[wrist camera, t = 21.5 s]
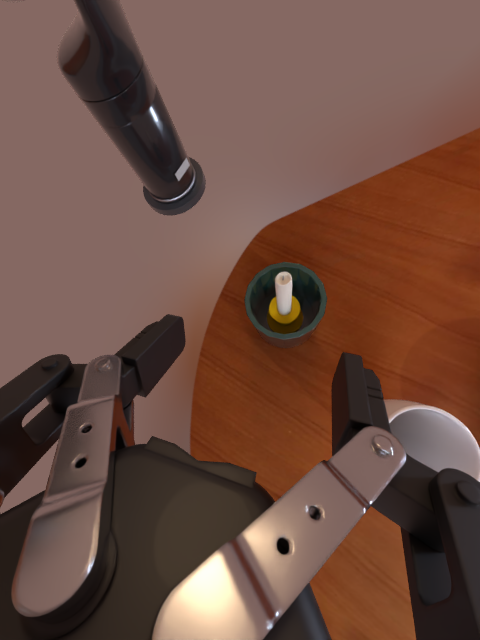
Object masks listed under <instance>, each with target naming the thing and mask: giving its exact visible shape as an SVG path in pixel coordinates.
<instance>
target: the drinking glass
mask: <svg viewBox="0 0 480 640" xmlns="http://www.w3.org/2000/svg"><path fill="white" fill-rule="evenodd" d="M383 400H384V402H385V407H386V411H387V415H388V420H389V424H390V428H391V432H392V435H394V436H395V437H396V438H397V439H398V440H399V442H400V443H401V444H402V446H403V448H404V450H405V452H406V453H407V454H408V455H409V456H411V457H412V458H414V459H415V460H417V461H419V462H421V463H422V464H424V465H426V466H428V467H430V468H431V469H433V470H435V471H437V472H440V471H441V470H442V469H445V468H454V469H457V470H460V471H463V472H465V473H467V474H469V475H470V476H472V477H473V478H475V479H476V480H477V481H479V482H480V448H479V446H478V443H477V441H476V440H475V438H474V436H473V435H472V433H471V432H470V431H469V429H468V428H467V427H466V426H465V425H464V424H463V423H462V422H461V421H460V420H458V419H457V418H456V417H454V416H453V415H451V414H450V413H448V412H446V411H444V410H442V409H439V408H436V407H433V406H429V405H426V404H422V403H418V402H413V401H408V400H400V399H383Z"/></svg>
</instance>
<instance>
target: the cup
mask: <svg viewBox="0 0 480 640" xmlns="http://www.w3.org/2000/svg"><path fill="white" fill-rule="evenodd" d="M281 272H288V273H290V274H291V276H292V296H294V297H295V298H296V299H297V300H298V302H299V304H300V309H301V311H302V313H303V322H302V325H301V327H300V328H299V330H298V331H296V332H294V333H289V334H281V333H276V332H274V331H272V330H271V328H270V327H269V325H268V322H267V313H268V311H269V305H270V303H271V301H272V299H273V298H275V297H276V289H275V278H276V276H277V275H278V274H279V273H281ZM326 302H327V296H326V292H325V288H324V284H323V283H322V282H321V280H320V279H319V278H318V277H317V275H316V274H315V273H314V272H313V271H312V270H310V269H308V268H306V267H305V266H303V265H301V264H296V263H288V262H282V263H277V264H273V265H270V266H268V267H266V268H265V269H263V270H262V271H260V272H258V273H257V274H256V275H255V277H254V278H253V279H252V281H251V282H250V284H249V285H248V288H247V292H246V296H245V306H246V312H247V316H248V317H249V319H250V320H251V322H252V323H253V325H254V327H255V328H256V330H257V331H258V333H259V334H260V336H261V338H262V339H264V340H265V341H266V342H268V343H269V344H271V345H273V346H276V347H280V348H291V347H295V346H298V345H300V344H302V343H304V342H305V341H306V340H308V339H309V338H310V336H311V335H312V333H313V332H314V330H315V329H316V327H317V326H318V324H319V322H320V321H321V319H322V317H323V316H324V313H325V308H326Z"/></svg>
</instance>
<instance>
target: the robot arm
mask: <svg viewBox="0 0 480 640" xmlns="http://www.w3.org/2000/svg"><path fill="white" fill-rule="evenodd" d="M3 1H7V2H20V1H24V0H3ZM74 2H75V4H76V7H77V9H78V11H77V14H76V17H75V19H74V21H73V22H72V24H71V25H70V27H69V28H68V29H67V31H66V33H65V34H64V36H63V37H62V40H61V42H60V44H59V48H58V52H57V63H58V66H59V69H60V71H61V73H62V75H63V76H64V78H65V79H66V80H67V82H68V84H69V85H70V86H71V88H72V89H73V90H74V92H75V93H76V94H77V95H78V97H79V98H80V100H81V101H82V102H83V104H84V105H85V106H86V108H87V109H88V110H89V112H90V113H91V114H92V116H93V117H94V118H95V120H96V121H97V122H98V123H99V125H100V126H101V128H102V129H103V130H104V132H105V133H106V134H107V136H108V137H109V138H110V140H111V141H112V142H113V144H114V145H115V146H116V148H117V149H118V151H119V152H120V153H121V155H122V156H123V157H124V159H125V160H126V161H127V163H128V164H129V165H130V167H131V168H132V170H133V171H134V172H135V174H136V175H137V176H138V178H139V179H140V180H141V182H142V183H143V185H144V186H145V187H146V189H147V190H148V192H149V193H150V195H151V196H152V198H153V199H154V200H156V201H157V202H159V203H163V204H172V203H176V202H178V201H180V200H182V199H184V198H185V197H186V196H187V195H188V194H189V193H190V192H191V191H192V189H193V188H194V186H195V183H196V172H195V170H194V168H193V165H192V164H191V162H190V160H189V158H188V156H187V153H186V151H185V149H184V147H183V144H182V142H181V140H180V137H179V135H178V133H177V131H176V128H175V126H174V124H173V122H172V120H171V117H170V115H169V113H168V111H167V108H166V106H165V104H164V102H163V99H162V97H161V95H160V93H159V90H158V88H157V86H156V84H155V82H154V80H153V77H152V75H151V73H150V71H149V68H148V66H147V64H146V62H145V59H144V57H143V55H142V53H141V50H140V48H139V46H138V44H137V41H136V39H135V37H134V35H133V33H132V30H131V27H130V25H129V22H128V20H127V17H126V15H125V12H124V10H123V7H122V5H121V3H120V0H74ZM184 347H185V332H184V322H183V319H182V317H179V316H174V315H169V314H168V315H166V316H165V317H163V319H161V320H160V321H159V322H155V323H152V324H151V325H148V326H147V327H146V328H144V329H143V330H142V331H141V333H139V334H138V335H137V336H135V338H133V339H132V340H131V341H130V342H128V343H127V344H126V345H125V346H124V347H123V348H122V349H120V350H119V351H118V352H117V353H116V354H115V355H104V356H100V357H98V358H95V359H94V360H92V361H91V362H90V363H89V364H72V363H71V361H70V359H69V357H68V356H66V355H63V354H57V355H51V356H48V357H45V358H43V359H41V360H39V361H38V362H36V363H35V364H34V365H32V366H31V367H29V368H28V369H27V370H25V371H24V372H22V373H21V374H20V375H18V376H17V377H16V378H14V379H13V380H11V381H10V382H9V383H7V384H6V385H4V386H3V387H2V388H0V507H1V505H2V503H3V500H4V498H5V497H6V495H7V494H8V493H9V492H10V491H11V490H12V489H13V488H14V487H15V486H16V485H17V483H18V482H19V481H20V480H21V479H22V478H23V477H24V476H25V475H26V474H27V473H28V472H29V470H30V469H31V468H32V467H33V466H34V465H35V464H36V463H37V462H38V461H39V459H41V457H42V456H43V455H44V454H45V453H46V452H47V451H48V450H49V449H50V448H51V446H53V444H54V443H55V442H56V441H57V440H58V439H59V441H58V445H57V449H56V453H55V456H54V460H53V464H52V468H51V471H50V475H49V478H48V482H47V486H46V490H45V491H43V492H41V493H39V494H37V495H35V496H33V497H32V498H30V499H28V500H26V501H24V502H22V503H21V504H19V505H17V506H15V507H13V508H11V509H10V510H8V511H6V512H4V513H2V514H0V640H332V639H331V637H330V634H329V632H328V629H327V627H326V624H325V622H324V619H323V616H322V614H321V611H320V609H319V606H318V604H317V601H316V599H315V596H314V593H313V591H312V588H311V586H310V583H309V582H310V581H311V579H312V578H313V577H314V576H315V574H316V573H317V572H318V571H319V569H320V568H321V567H322V566H323V564H324V563H325V562H326V561H327V559H328V558H329V557H330V556H331V555H332V553H333V552H334V551H335V550H336V548H337V547H338V546H339V545H340V543H341V542H342V541H343V540H344V538H345V537H346V536H347V535H348V533H349V532H350V531H351V530H352V528H353V527H354V526H355V525H356V523H357V522H358V521H359V520H360V518H361V517H362V516H363V515H364V514H365V512H366V511H367V510H368V509H369V507H370V506H372V507H373V508H375V509H376V510H377V511H379V512H380V513H382V514H383V515H385V516H386V517H388V518H389V519H390V520H392V521H393V522H395V523H396V524H398V525H399V526H400V527H401V534H402V541H403V548H404V555H405V562H406V569H407V576H408V583H409V590H410V597H411V604H412V611H413V618H414V625H415V632H416V639H417V640H480V482H479V481H477V480H476V479H475V478H473V477H472V476H470V475H469V474H467V473H465V472H463V471H460V470H457V469H454V468H445V469H442V470H441V471H440V472H437V471H435V470H433V469H431V468H430V467H428V466H426V465H424V464H422V463H421V462H419V461H417V460H415V459H414V458H412V457H411V456H409V455H408V454H407V453H406V452H405V450H404V448H403V446H402V444H401V443H400V442H399V440H398V439H397V438H396V437H395V436H394V435H392V432H391V428H390V424H389V420H388V415H387V411H386V407H385V402H384V400H383V394H382V392H381V390H382V389H381V385H380V381H379V379H378V377H377V376H376V375H375V373H374V372H373V371H372V370H370V369H365V368H363V362H362V357H361V356H359V355H355V354H350V353H345V352H343V353H342V355H341V357H340V360H339V363H338V366H337V369H336V372H335V374H334V378H333V382H332V456H333V457H332V458H331V459H329V460H328V461H325V460H323V461H321V462H320V463H318V464H317V465H316V466H315V467H314V468H313V469H312V470H311V471H309V472H308V473H307V474H306V475H305V476H304V477H303V478H302V479H301V480H299V481H298V482H297V483H296V484H295V485H294V486H293V487H292V488H291V489H289V490H288V491H287V492H286V493H285V494H284V495H283V496H282V497H281V498H280V499H278V500H277V501H276V502H275V501H274V499H273V498H272V497H271V496H270V494H269V493H268V492H267V491H266V490H265V489H264V488H263V487H262V486H261V485H259V484H258V483H256V482H255V478H256V472H253V471H251V470H248V469H245V468H242V467H239V466H236V465H233V464H231V463H224V462H208V461H198V460H196V459H195V458H193V457H192V456H191V455H189V454H188V453H187V452H185V451H184V450H183V449H181V448H180V447H178V446H177V445H176V444H173V443H170V442H168V441H165V440H162V439H159V438H156V437H153V436H152V437H151V438H150V440H149V441H148V443H147V444H138V445H135V442H134V402H133V399H134V397H135V396H136V395H140V396H143V397H146V396H147V395H148V394H149V393H150V391H151V390H152V389H153V388H154V386H155V385H156V384H157V383H158V381H159V380H160V379H161V378H162V376H163V375H164V374H165V373H166V371H167V370H168V369H169V368H170V366H171V365H172V364H173V363H174V361H175V360H176V359H177V357H178V356H179V355H180V354H181V352H182V351H183V349H184ZM45 397H46V399H47V400H48V402H49V405H48V406H46V407H45V408H44V409H43V410H42V411H41V412H40V413H39V414H37V416H35V417H34V418H33V419H32V420H31V421H30V422H29V423H28V424H27V425H26V426H24V427H22V420H23V418H24V417H25V415H26V414H27V413H28V412H29V411H30V410H32V409H33V408H34V407H35V406H36V405H37V404H38V403H40V402H41V401H42V400H43V399H44V398H45Z"/></svg>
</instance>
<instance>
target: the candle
mask: <svg viewBox="0 0 480 640" xmlns="http://www.w3.org/2000/svg"><path fill="white" fill-rule="evenodd" d="M275 289H276V297H275V298H273V299H272V301H271V303H270V305H269V311H268V313H267V322H268V325H269V327H270V328H271V330H272V331H274V332H276V333H281V334H289V333H294V332H296V331H298V330H299V328H300V327H301V325H302V322H303V313H302V311H301V309H300V304H299V302H298V300H297V299H296V298H295V297H294V296H292V276H291V274H290V273H288V272H281V273H279V274H278V275H277V276H276V278H275Z"/></svg>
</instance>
